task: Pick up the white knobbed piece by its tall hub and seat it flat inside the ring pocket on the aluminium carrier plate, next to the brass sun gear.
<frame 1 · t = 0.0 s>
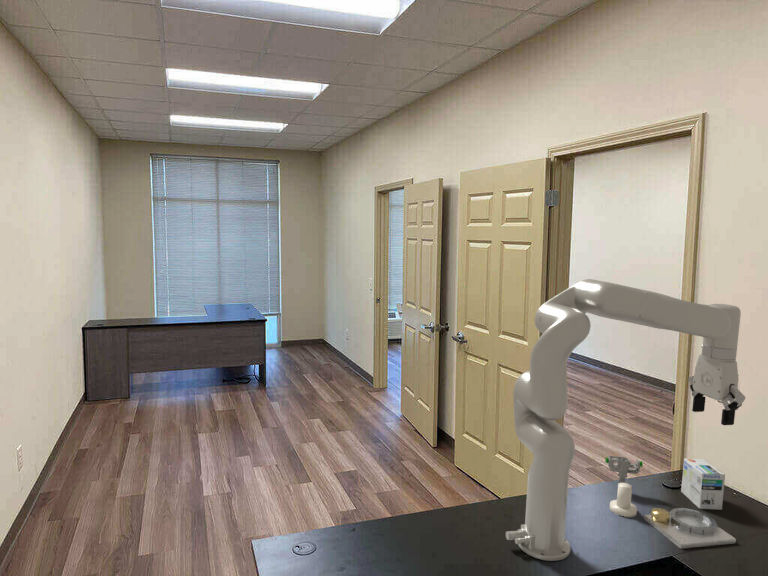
hand: (712, 417, 142), 31 cm above the table, tool pointing down, fingers open, 9 cm apart
carrier plate: (688, 530, 146), on the table
light bulb box: (700, 501, 163), on the table
white knobbed piece: (622, 510, 156), on the table
mechanical component: (621, 491, 168), on the table
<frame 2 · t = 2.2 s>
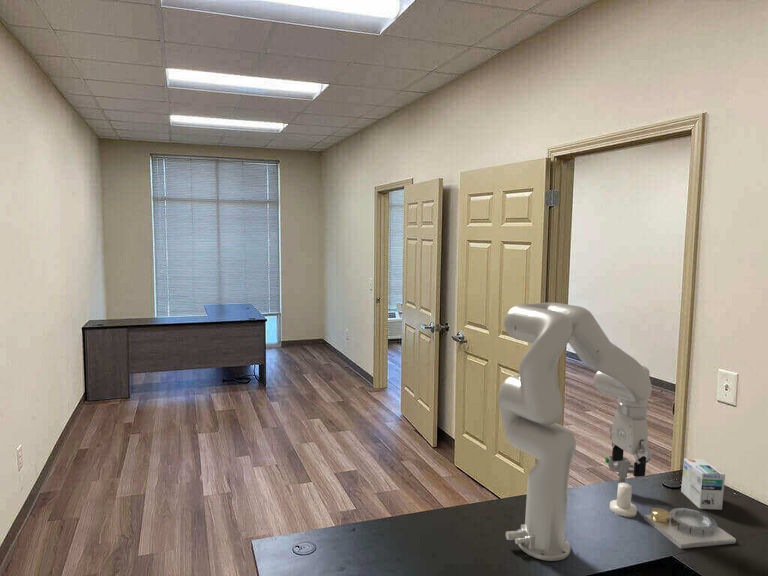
hand: (627, 468, 155), 12 cm above the table, tool pointing down, fingers open, 9 cm apart
nothing on the table moved.
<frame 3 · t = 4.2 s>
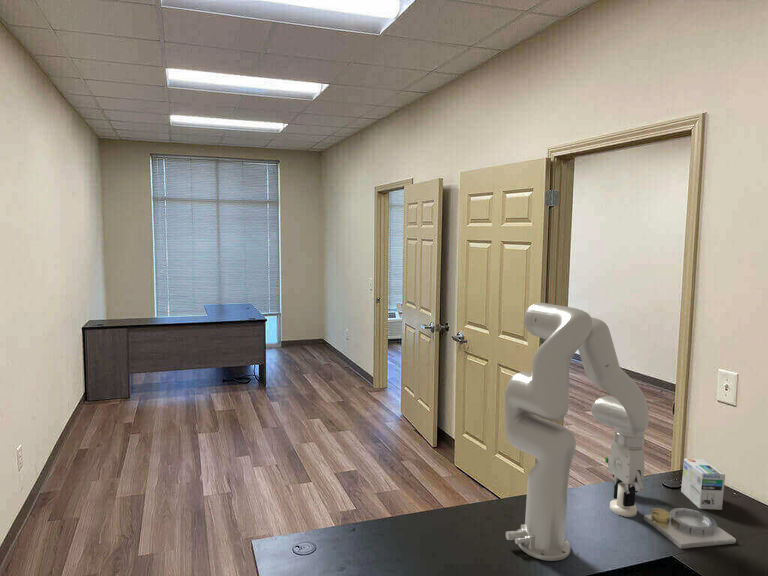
hand: (623, 501, 156), 3 cm above the table, tool pointing down, fingers closed on white knobbed piece, 3 cm apart
white knobbed piece: (623, 510, 156), on the table, touching gripper
everything else where it was.
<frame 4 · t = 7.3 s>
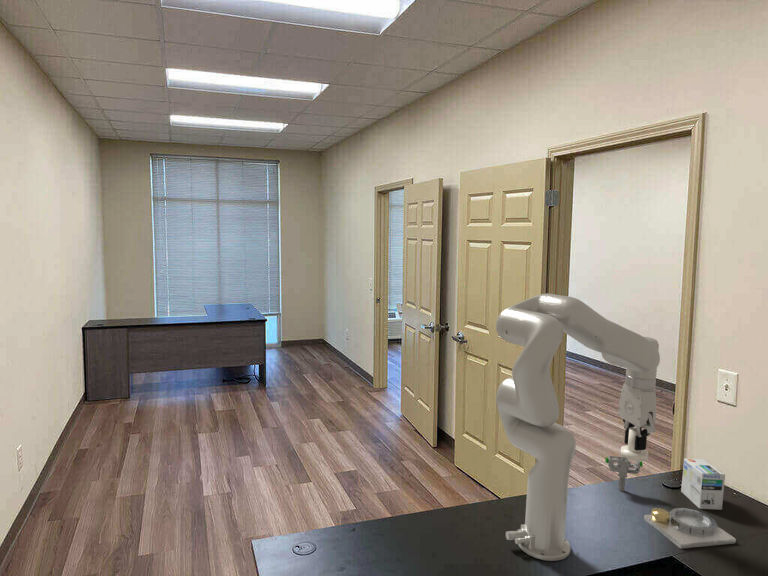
hand: (634, 445, 153), 19 cm above the table, tool pointing down, fingers closed on white knobbed piece, 3 cm apart
white knobbed piece: (634, 455, 153), point 17 cm above the table, touching gripper
everything else where it was.
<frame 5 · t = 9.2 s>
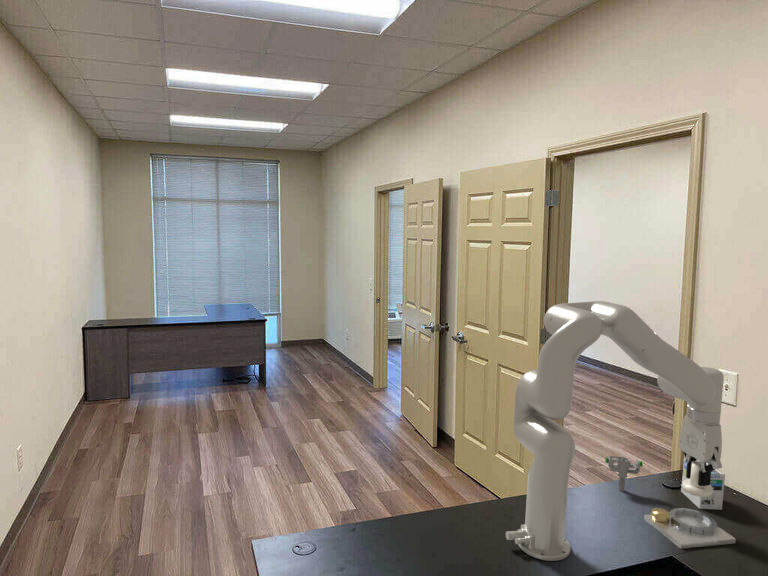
hand: (697, 480, 147), 13 cm above the table, tool pointing down, fingers closed on white knobbed piece, 3 cm apart
white knobbed piece: (697, 490, 147), point 10 cm above the table, touching gripper
everything else where it was.
when the fingers open (5 cm above the table, at t = 10.8 s): white knobbed piece drops 2 cm, resting on carrier plate.
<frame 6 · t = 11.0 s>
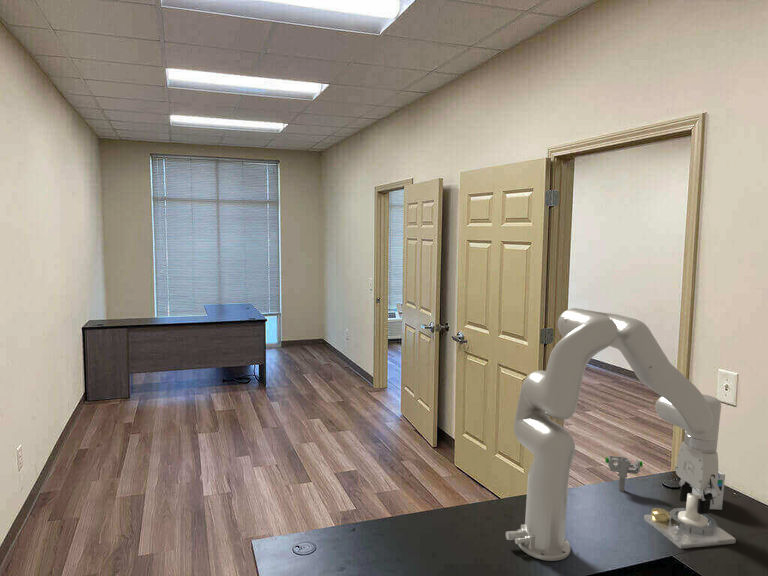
hand: (694, 506, 148), 6 cm above the table, tool pointing down, fingers open, 5 cm apart
white knobbed piece: (692, 522, 148), point 1 cm above the table, touching carrier plate
everything else where it was.
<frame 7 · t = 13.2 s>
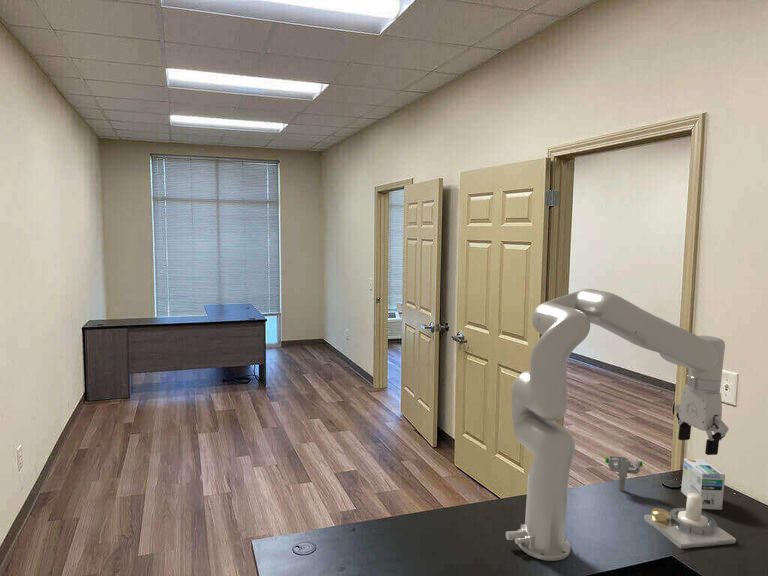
hand: (697, 446, 146), 22 cm above the table, tool pointing down, fingers open, 9 cm apart
nothing on the table moved.
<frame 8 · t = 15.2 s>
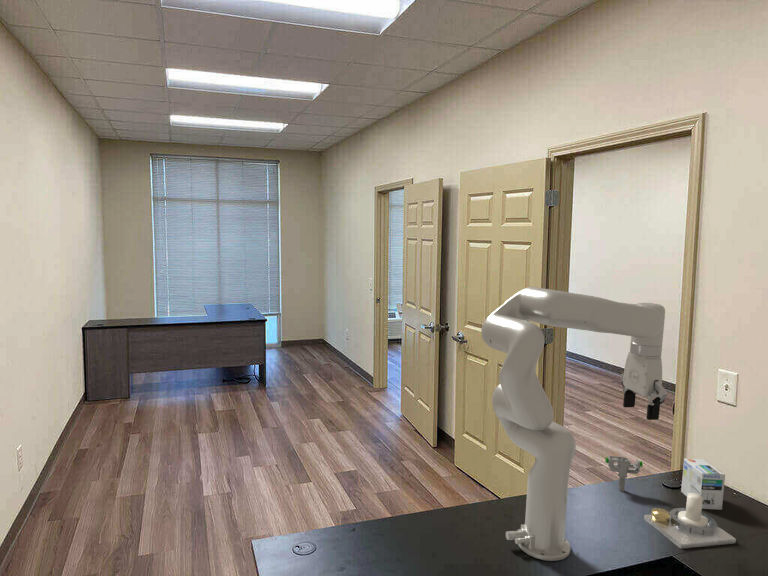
hand: (640, 412, 147), 30 cm above the table, tool pointing down, fingers open, 9 cm apart
nothing on the table moved.
at the end: white knobbed piece 0.0 cm from the target spot on the carrier plate, point 1.2 cm above the carrier plate's base; white knobbed piece tilted 0°; the gripper is holding nothing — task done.
